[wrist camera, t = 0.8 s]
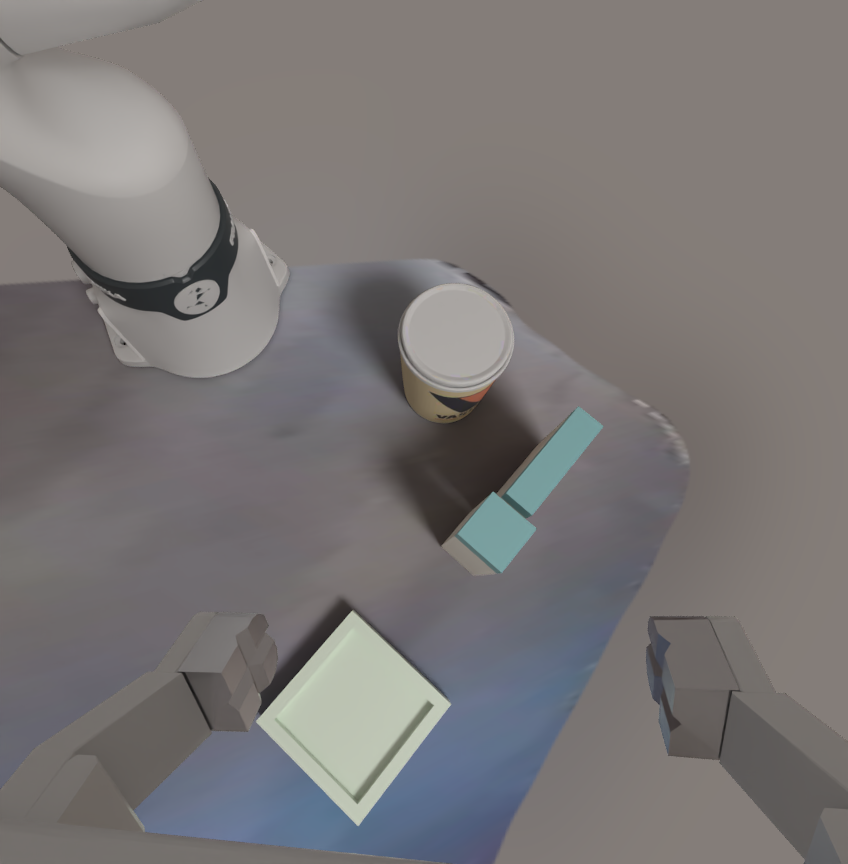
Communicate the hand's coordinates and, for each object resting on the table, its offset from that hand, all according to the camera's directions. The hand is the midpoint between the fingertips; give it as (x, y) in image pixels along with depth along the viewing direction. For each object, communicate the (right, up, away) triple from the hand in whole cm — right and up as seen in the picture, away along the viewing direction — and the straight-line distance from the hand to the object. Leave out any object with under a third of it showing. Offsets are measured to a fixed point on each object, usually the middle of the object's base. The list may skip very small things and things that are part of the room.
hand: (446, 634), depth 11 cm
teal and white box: (+9, -1, +39) cm, 40 cm away
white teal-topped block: (+4, -6, +37) cm, 38 cm away
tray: (-6, -19, +33) cm, 38 cm away
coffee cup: (+1, +9, +41) cm, 42 cm away
